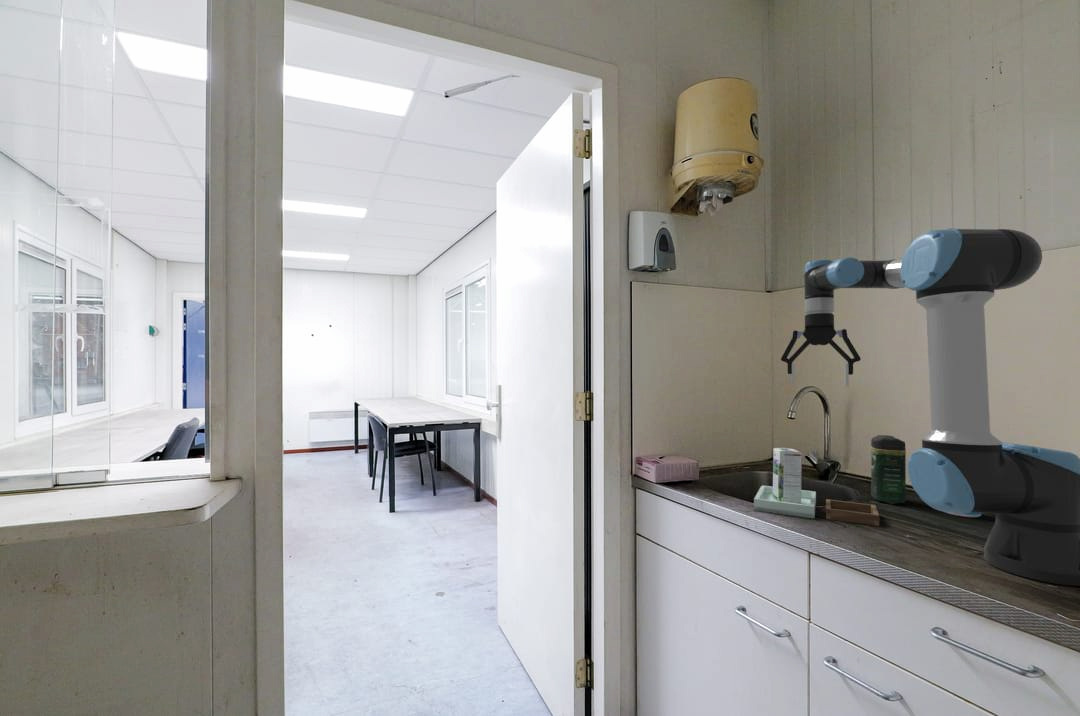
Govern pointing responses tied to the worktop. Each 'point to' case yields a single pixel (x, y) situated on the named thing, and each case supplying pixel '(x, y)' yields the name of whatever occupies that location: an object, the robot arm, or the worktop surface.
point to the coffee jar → (888, 469)
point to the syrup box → (787, 475)
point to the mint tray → (785, 503)
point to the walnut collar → (852, 512)
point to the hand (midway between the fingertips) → (819, 385)
